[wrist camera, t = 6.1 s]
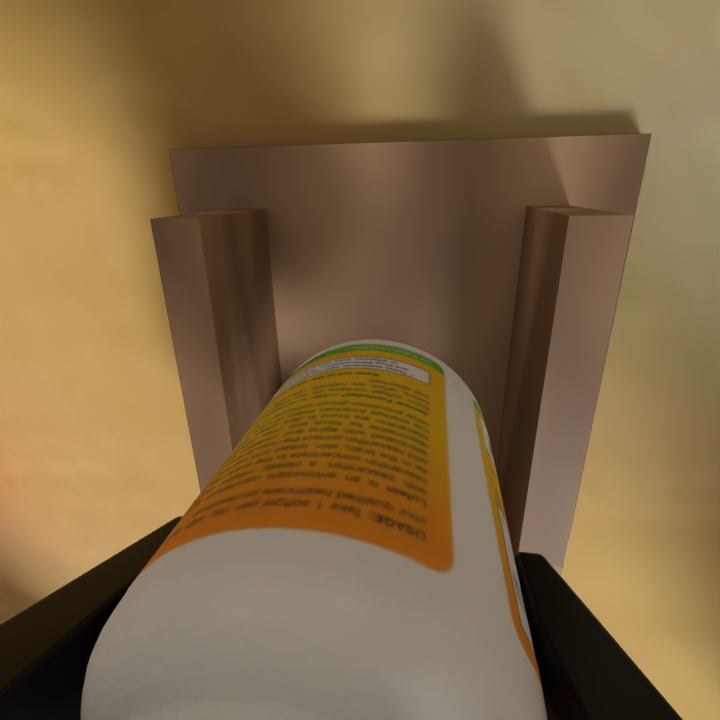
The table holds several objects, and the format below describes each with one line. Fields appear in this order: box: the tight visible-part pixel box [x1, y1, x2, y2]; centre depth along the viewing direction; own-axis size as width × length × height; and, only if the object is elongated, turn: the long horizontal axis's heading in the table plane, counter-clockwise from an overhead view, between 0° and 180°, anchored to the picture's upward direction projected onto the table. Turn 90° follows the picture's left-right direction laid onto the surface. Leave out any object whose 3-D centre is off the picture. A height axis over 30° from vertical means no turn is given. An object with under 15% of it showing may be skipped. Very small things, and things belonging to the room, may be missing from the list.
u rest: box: [150, 134, 651, 576], centre depth 14 cm, size 14×14×5 cm
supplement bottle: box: [81, 339, 548, 720], centre depth 7 cm, size 5×5×10 cm
